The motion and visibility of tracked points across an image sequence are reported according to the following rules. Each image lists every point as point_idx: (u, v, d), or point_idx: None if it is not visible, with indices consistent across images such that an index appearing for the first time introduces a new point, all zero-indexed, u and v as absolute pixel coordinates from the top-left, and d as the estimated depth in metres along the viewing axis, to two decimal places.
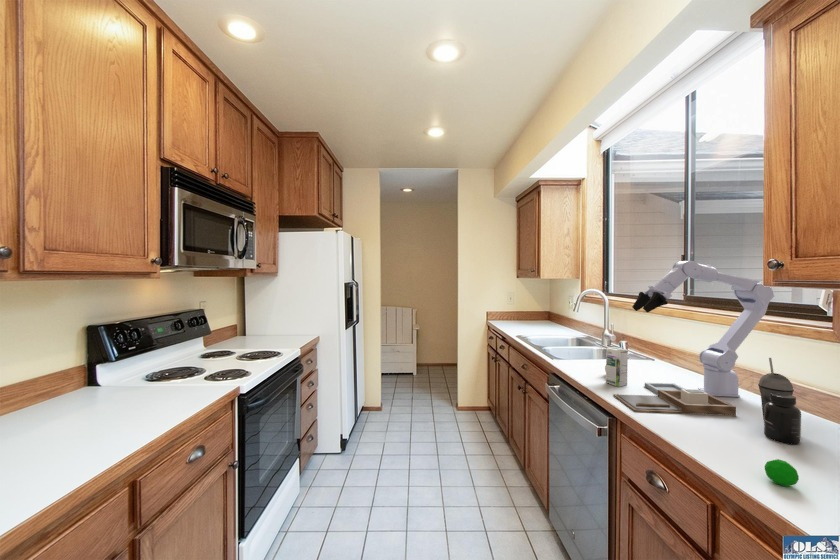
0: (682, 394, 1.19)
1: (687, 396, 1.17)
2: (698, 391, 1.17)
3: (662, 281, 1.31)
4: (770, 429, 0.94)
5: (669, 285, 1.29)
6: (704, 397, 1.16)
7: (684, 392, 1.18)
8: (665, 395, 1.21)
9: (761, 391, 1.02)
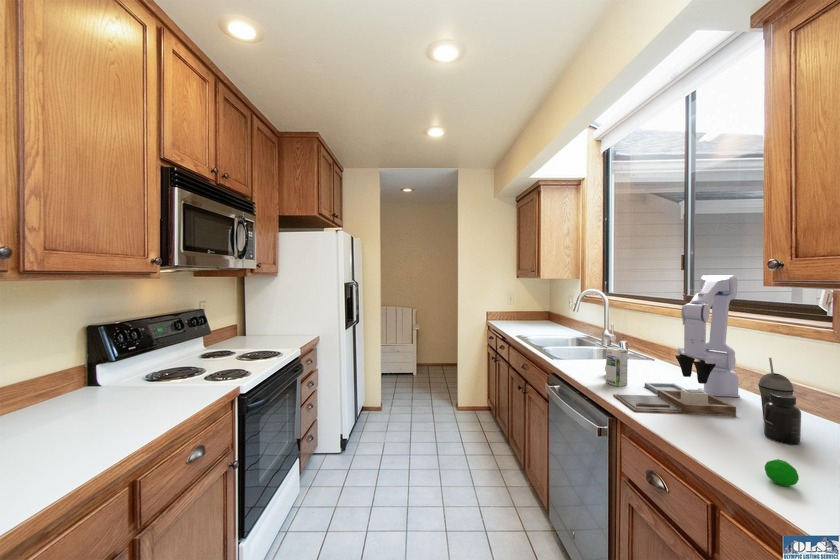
0: (682, 394, 1.19)
1: (687, 396, 1.17)
2: (698, 391, 1.17)
3: (688, 342, 1.17)
4: (770, 429, 0.94)
5: (698, 343, 1.15)
6: (704, 397, 1.16)
7: (684, 392, 1.18)
8: (665, 395, 1.21)
9: (761, 391, 1.02)
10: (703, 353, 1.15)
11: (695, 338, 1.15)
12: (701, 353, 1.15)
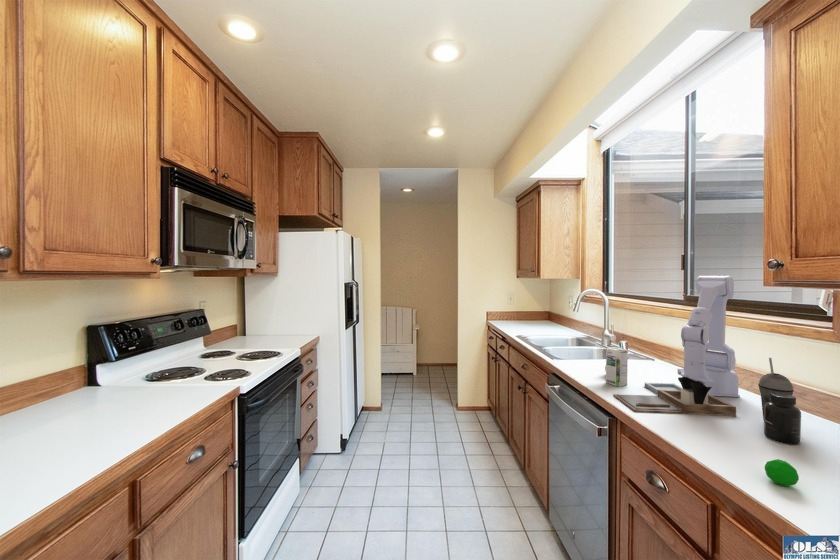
0: (682, 394, 1.19)
1: (687, 395, 1.17)
2: None
3: (688, 364, 1.17)
4: (770, 429, 0.94)
5: (698, 365, 1.15)
6: None
7: (684, 392, 1.18)
8: (665, 395, 1.21)
9: (761, 391, 1.02)
10: (703, 375, 1.15)
11: (695, 360, 1.15)
12: (701, 375, 1.15)
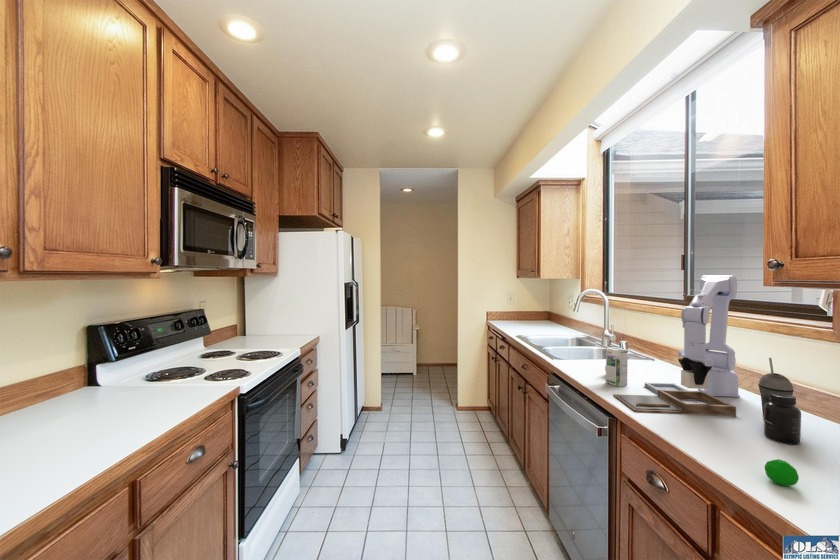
0: (682, 375, 1.19)
1: (687, 376, 1.17)
2: None
3: (688, 344, 1.17)
4: (770, 429, 0.94)
5: (698, 345, 1.15)
6: None
7: (684, 373, 1.18)
8: (665, 395, 1.21)
9: (761, 391, 1.02)
10: (703, 356, 1.15)
11: (695, 341, 1.15)
12: (701, 356, 1.15)
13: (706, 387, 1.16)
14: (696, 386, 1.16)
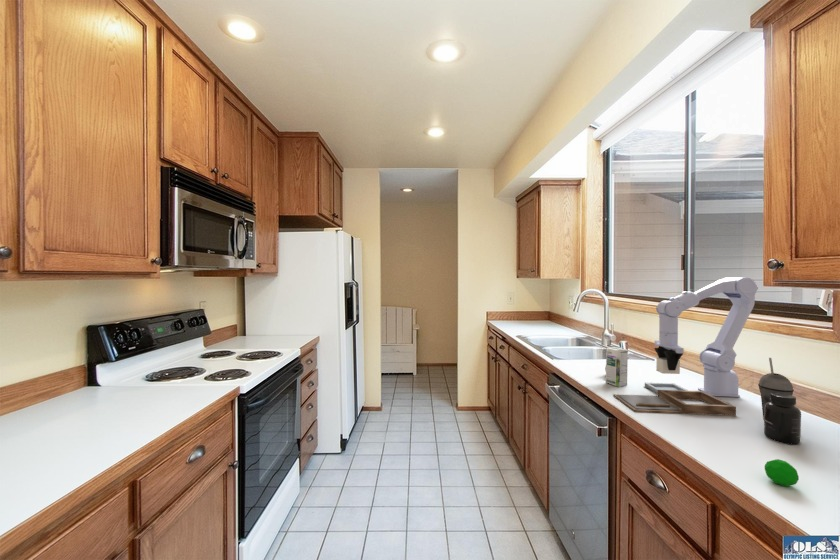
0: (657, 362, 1.34)
1: (661, 363, 1.31)
2: None
3: (662, 334, 1.31)
4: (770, 429, 0.94)
5: (671, 335, 1.29)
6: None
7: (659, 360, 1.33)
8: (665, 395, 1.21)
9: (761, 391, 1.02)
10: (675, 344, 1.29)
11: (662, 330, 1.31)
12: (673, 344, 1.29)
13: (678, 372, 1.30)
14: (669, 371, 1.30)
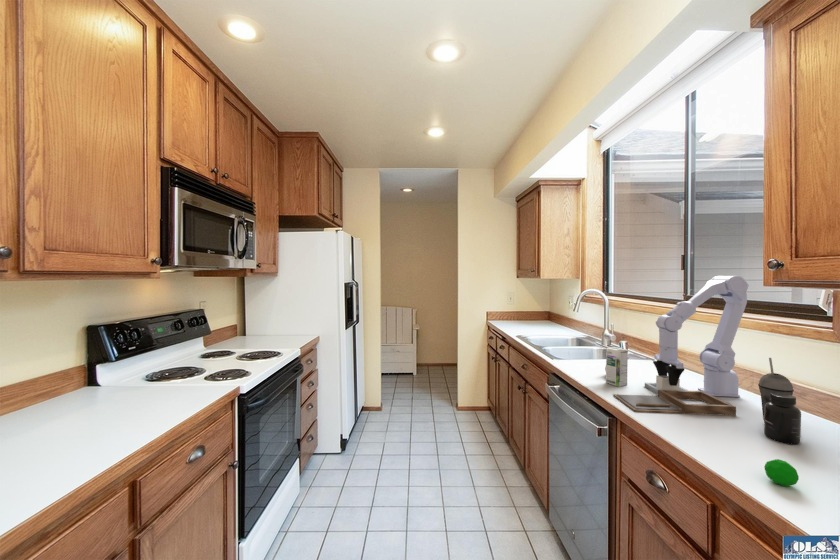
0: (657, 380, 1.34)
1: (661, 381, 1.31)
2: None
3: (662, 349, 1.31)
4: (770, 429, 0.94)
5: (671, 350, 1.29)
6: None
7: (659, 378, 1.33)
8: (665, 395, 1.21)
9: (761, 391, 1.02)
10: (675, 359, 1.29)
11: (662, 345, 1.31)
12: (673, 359, 1.29)
13: None
14: None
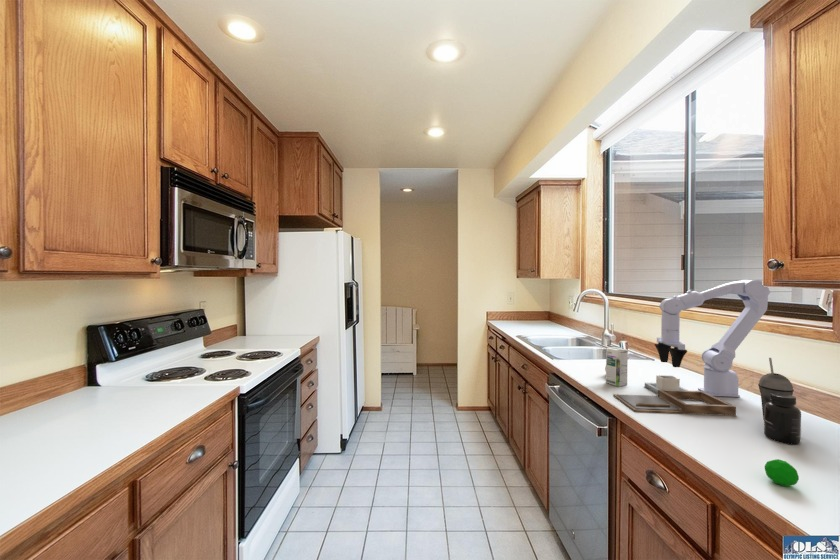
0: (657, 380, 1.34)
1: (661, 381, 1.31)
2: (671, 377, 1.32)
3: (664, 331, 1.35)
4: (770, 429, 0.94)
5: (673, 332, 1.33)
6: (676, 382, 1.30)
7: (659, 378, 1.33)
8: (665, 395, 1.21)
9: (761, 391, 1.02)
10: (677, 341, 1.33)
11: (662, 327, 1.36)
12: (675, 341, 1.33)
13: None
14: None
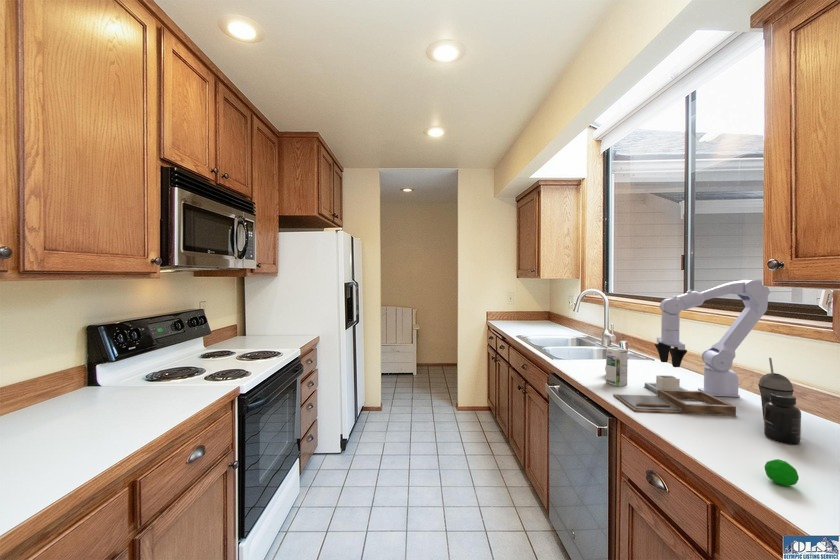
0: (657, 380, 1.34)
1: (661, 381, 1.31)
2: (671, 377, 1.32)
3: (664, 331, 1.35)
4: (770, 429, 0.94)
5: (673, 332, 1.33)
6: (676, 382, 1.30)
7: (659, 378, 1.33)
8: (665, 395, 1.21)
9: (761, 391, 1.02)
10: (677, 341, 1.33)
11: (662, 327, 1.36)
12: (675, 341, 1.33)
13: None
14: None
